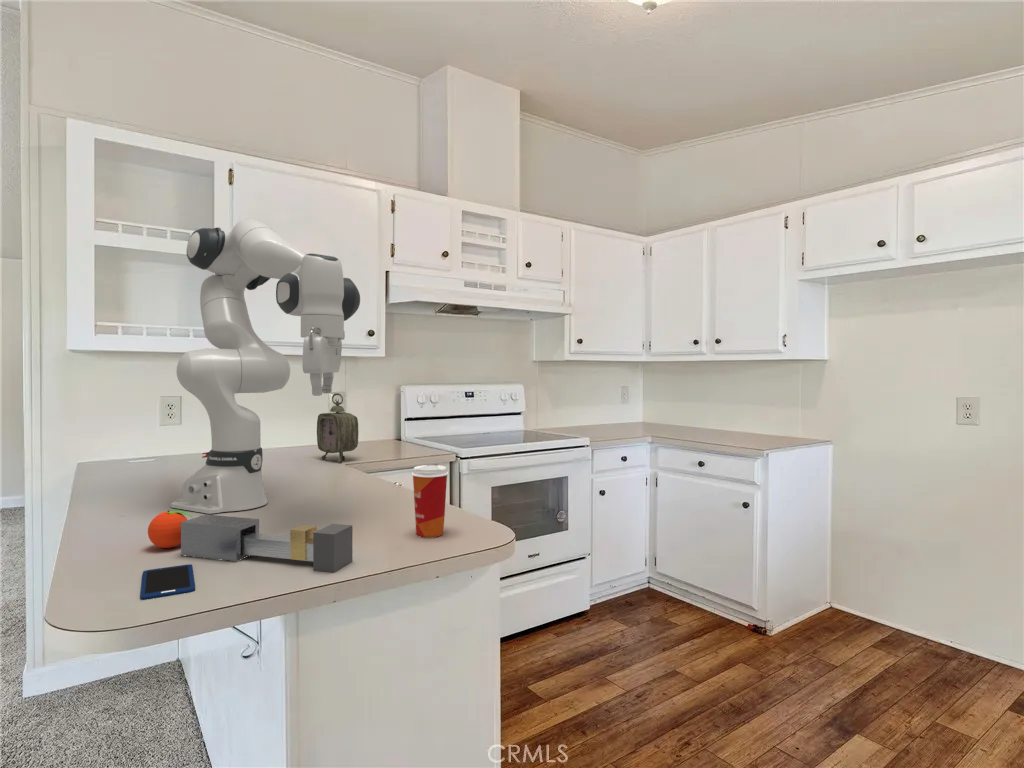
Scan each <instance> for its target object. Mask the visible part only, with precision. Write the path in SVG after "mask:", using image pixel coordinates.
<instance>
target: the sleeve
mask: <svg viewBox="0 0 1024 768" xmlns="http://www.w3.org/2000/svg"><path fill="white" fill-rule="evenodd" d="M244 532H247V533H258V534H260V518H252V517H251V518H250V517H240V516H227V515H216V514H203V515H200V516H197V517H192V518H190V519H187V521H184V522H181V543H180V553H181V554H180V556H181V555H186V556H194V557H193V558H195V557H205V558H213V559H212V560H214V559H222V560H221V561H223V560H231V561H230V562H232V561H238V560H240V559H242V558H244V557H246V556H249V555H246V554H241V538H240V534H242V533H244ZM186 556H185V557H186ZM249 557H250V556H249ZM244 559H245V558H244ZM242 560H243V559H242ZM240 561H241V560H240ZM238 562H239V561H238Z"/></svg>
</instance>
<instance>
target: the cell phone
mask: <svg viewBox="0 0 1024 768" xmlns="http://www.w3.org/2000/svg"><path fill="white" fill-rule="evenodd" d="M194 575H195V574H194V569H193V565H192V564H189V563H188V564H181V565H180V564H179V565H173V566H168V567H166V566H165V567H160V568H158V567H157V568H152V569H146V570H143V571H142V576H141V584H140V585H141V586H140V593H139V594H140V595H139V599H140V600H141V601H147V599H148V600H152V599H153V598H154V599H157V598H158V599H159V598H166V597H172V596H178V595H182V594H184V593H185V594H189V593H193V592H195V591H196V583H195V576H194ZM154 599H153V600H154Z"/></svg>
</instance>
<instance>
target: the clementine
mask: <svg viewBox="0 0 1024 768" xmlns="http://www.w3.org/2000/svg"><path fill="white" fill-rule="evenodd" d="M184 514H185V515H187V516H190V517H191V518H193V515H191V514H190V513H188V512H185V511H182V510H167V511H163V512H160V513H158V514H157V515H155V516H154V518H153V519H152V520H151V521H150V522H149V525H148V528H147V536H148V539H149V540H150V542H151V543H152V544H153V545H154V546H156V547H158V548H161V549H172V548H174V547H177V546H178V545H179V546H180V545H181V522H184V521H187V520H188V518H187V517H186V516H185V515H184Z"/></svg>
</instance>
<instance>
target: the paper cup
mask: <svg viewBox="0 0 1024 768" xmlns="http://www.w3.org/2000/svg"><path fill="white" fill-rule="evenodd" d="M410 475H411V476H412V481H413V482H412V483H413V499H414V500H413V501H414V519H415V534H416V536H417V535H418V536H417V537H419V536H422V537H421V538H423V537H434V538H437V537H436V536H439V537H441V536H443V535H444V528H445V518H446V517H445V515H446V514H445V513H446V497H447V495H446V494H447V482H448V475H449V472H448V470H447V467H446V466H445V465H439V464H437V465H435V464H430V465H428V464H425V465H418V466H415V467H413V469H412V472H411V474H410ZM442 534H443V535H442ZM440 535H441V536H440Z"/></svg>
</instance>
